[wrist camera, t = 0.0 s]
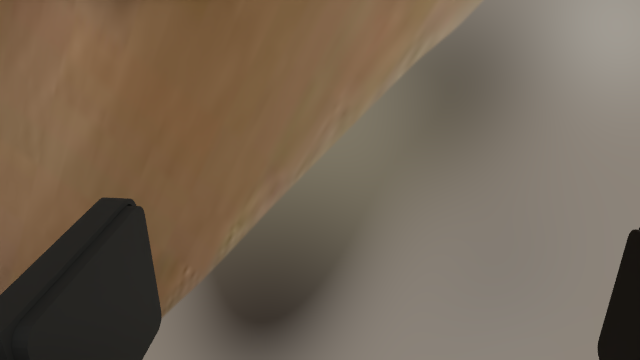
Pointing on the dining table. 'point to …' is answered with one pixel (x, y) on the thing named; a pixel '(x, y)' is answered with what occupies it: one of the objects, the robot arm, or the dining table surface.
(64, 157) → the dining table surface
